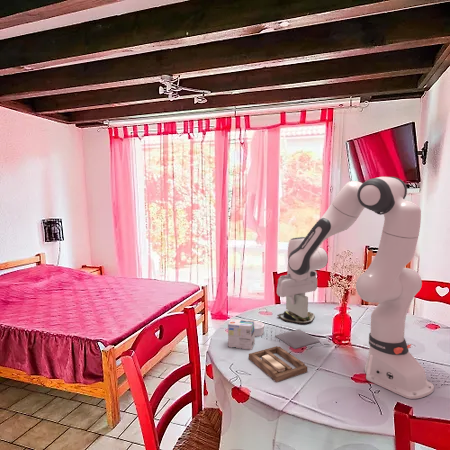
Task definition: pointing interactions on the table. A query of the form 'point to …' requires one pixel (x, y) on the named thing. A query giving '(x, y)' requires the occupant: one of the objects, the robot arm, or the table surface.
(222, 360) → the table surface
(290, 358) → the walnut rack
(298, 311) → the upright cream panel
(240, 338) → the light bulb box
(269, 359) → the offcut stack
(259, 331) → the ramekin
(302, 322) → the salad plate
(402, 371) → the robot arm
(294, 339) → the grey rubber mat
